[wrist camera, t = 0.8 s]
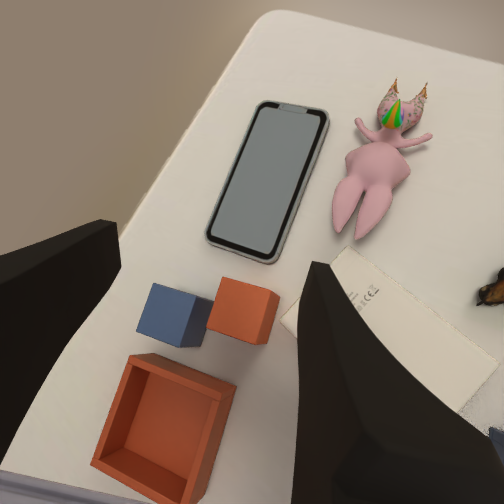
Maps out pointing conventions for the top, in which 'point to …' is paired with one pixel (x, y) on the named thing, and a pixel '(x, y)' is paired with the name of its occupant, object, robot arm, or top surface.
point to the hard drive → (410, 332)
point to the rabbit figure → (377, 163)
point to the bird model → (493, 291)
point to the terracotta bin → (164, 429)
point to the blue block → (175, 317)
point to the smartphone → (267, 180)
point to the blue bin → (498, 442)
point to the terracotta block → (243, 311)
